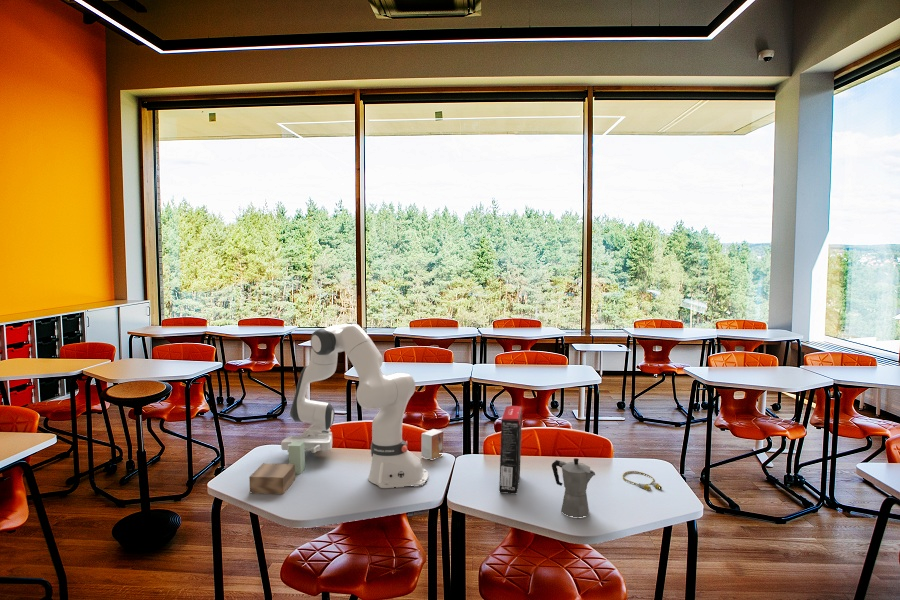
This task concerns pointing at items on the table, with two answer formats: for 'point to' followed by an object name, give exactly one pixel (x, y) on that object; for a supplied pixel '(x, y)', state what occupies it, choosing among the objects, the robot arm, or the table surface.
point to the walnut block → (272, 478)
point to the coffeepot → (574, 486)
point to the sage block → (297, 456)
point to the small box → (432, 444)
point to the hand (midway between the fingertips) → (301, 450)
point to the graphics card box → (510, 449)
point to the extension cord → (643, 484)
